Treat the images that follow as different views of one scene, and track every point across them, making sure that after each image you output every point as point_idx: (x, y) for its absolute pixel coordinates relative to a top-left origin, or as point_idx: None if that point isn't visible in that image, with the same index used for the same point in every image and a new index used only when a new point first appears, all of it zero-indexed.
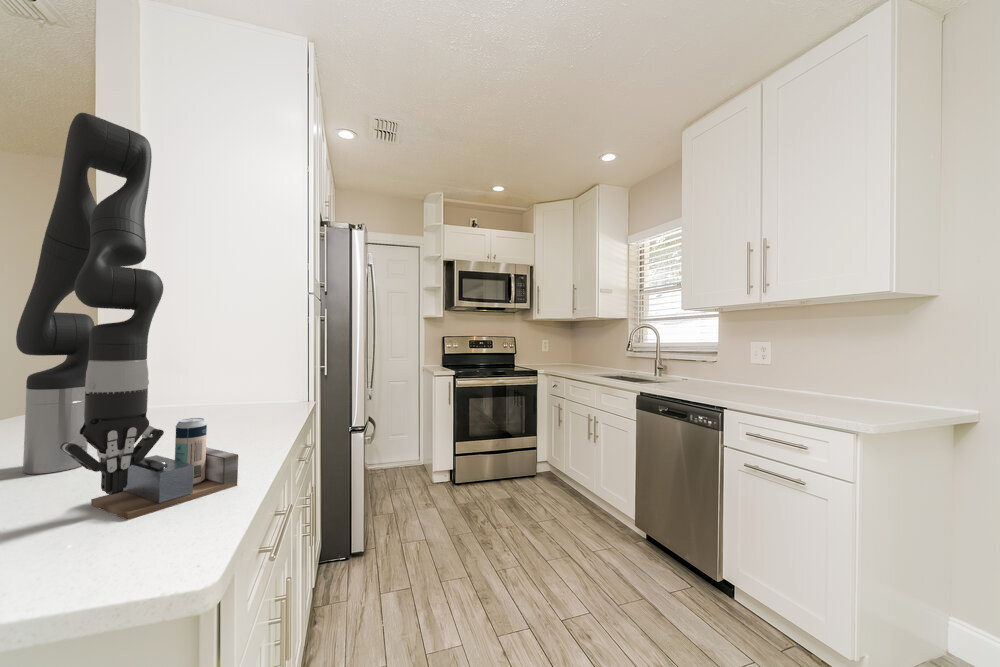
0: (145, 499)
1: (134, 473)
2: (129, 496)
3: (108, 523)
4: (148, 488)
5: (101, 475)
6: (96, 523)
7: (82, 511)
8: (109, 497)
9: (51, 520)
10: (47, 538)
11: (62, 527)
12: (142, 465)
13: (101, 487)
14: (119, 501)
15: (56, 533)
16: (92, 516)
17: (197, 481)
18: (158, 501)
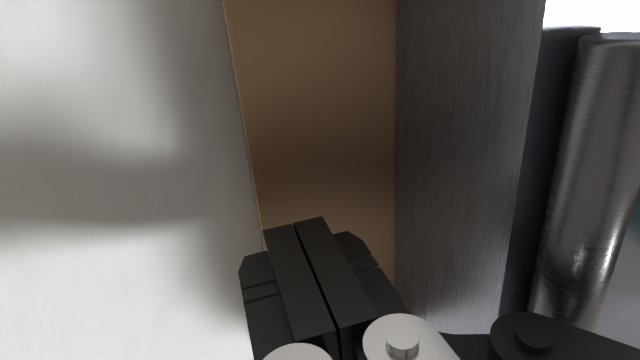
0: (392, 233)
1: (470, 176)
2: (372, 128)
3: (221, 325)
4: (421, 292)
5: (252, 342)
6: (187, 297)
7: (162, 68)
8: (303, 50)
9: (6, 96)
10: (10, 341)
11: (63, 252)
12: (537, 246)
13: (240, 279)
14: (313, 176)
15: (41, 309)
16: (189, 196)
17: None
18: None
